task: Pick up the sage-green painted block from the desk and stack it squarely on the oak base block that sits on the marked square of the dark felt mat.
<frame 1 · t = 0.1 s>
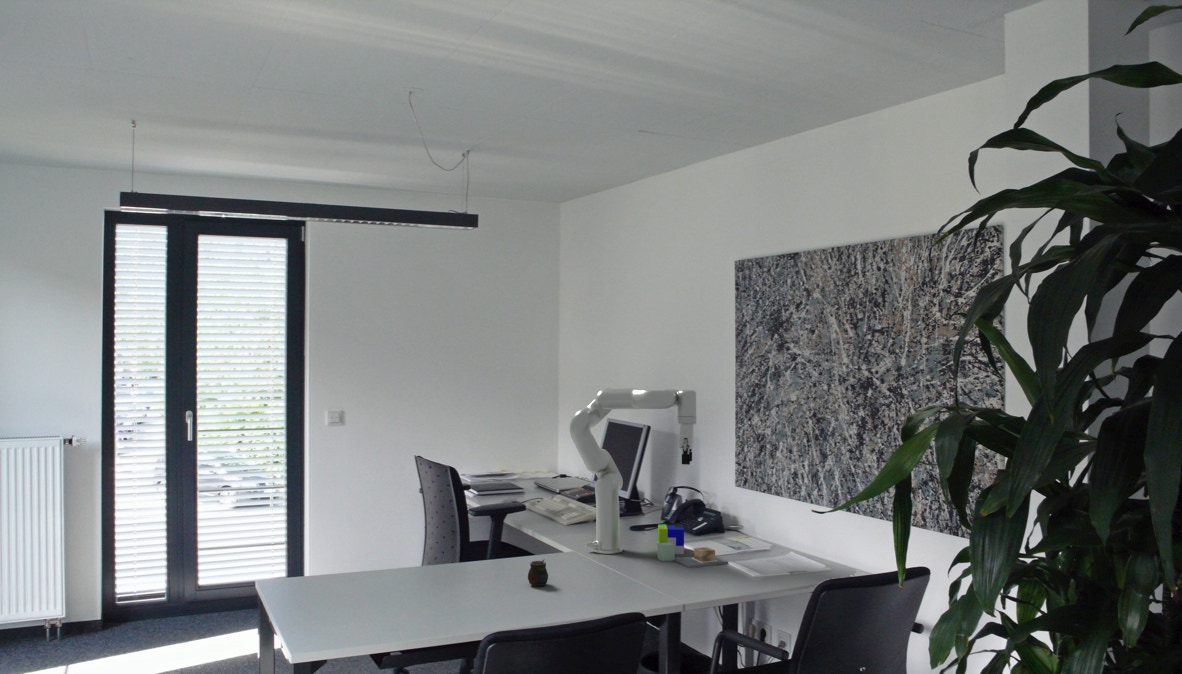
hand: (687, 462, 354), 37 cm above the table, tool pointing down, fingers open, 9 cm apart
puzzle toy: (670, 551, 360), on the table
felt mat: (701, 562, 342), on the table
mate gourd: (538, 585, 308), on the table
oak base block: (704, 559, 342), point 1 cm above the table, touching felt mat
sage block: (666, 559, 346), on the table
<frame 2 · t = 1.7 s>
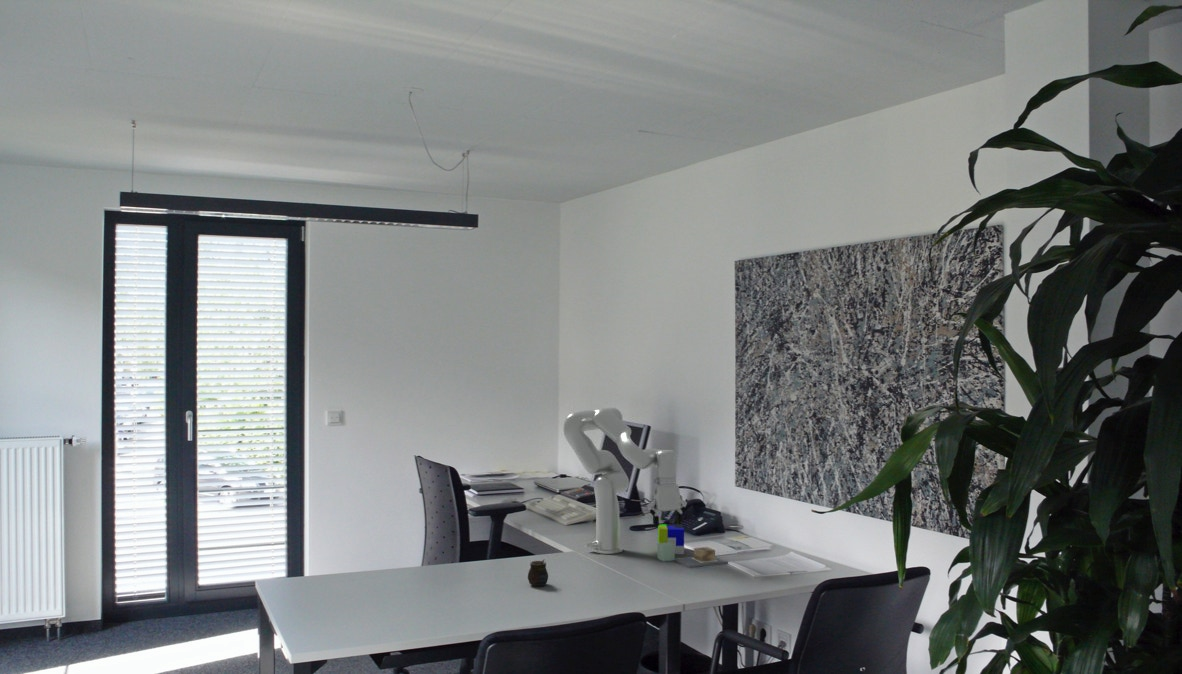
hand: (667, 524, 346), 14 cm above the table, tool pointing down, fingers open, 9 cm apart
nothing on the table moved.
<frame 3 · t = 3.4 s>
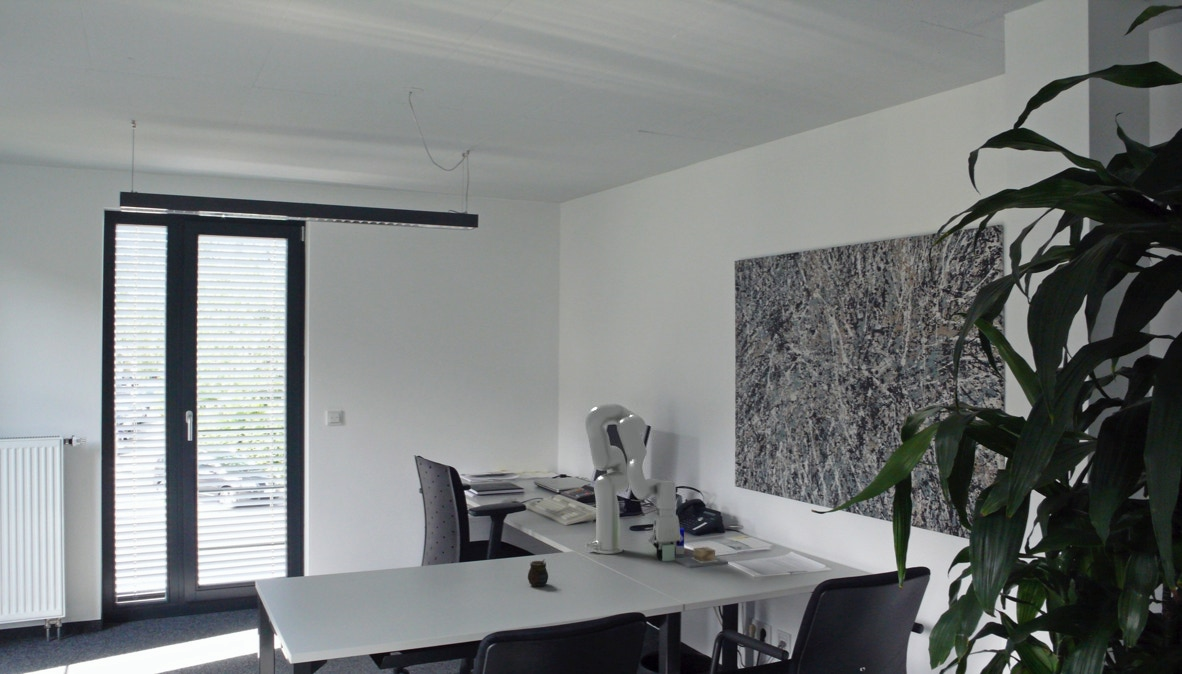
hand: (666, 557, 346), 0 cm above the table, tool pointing down, fingers closed on sage block, 5 cm apart
sage block: (666, 559, 346), on the table, touching gripper
everything else where it was.
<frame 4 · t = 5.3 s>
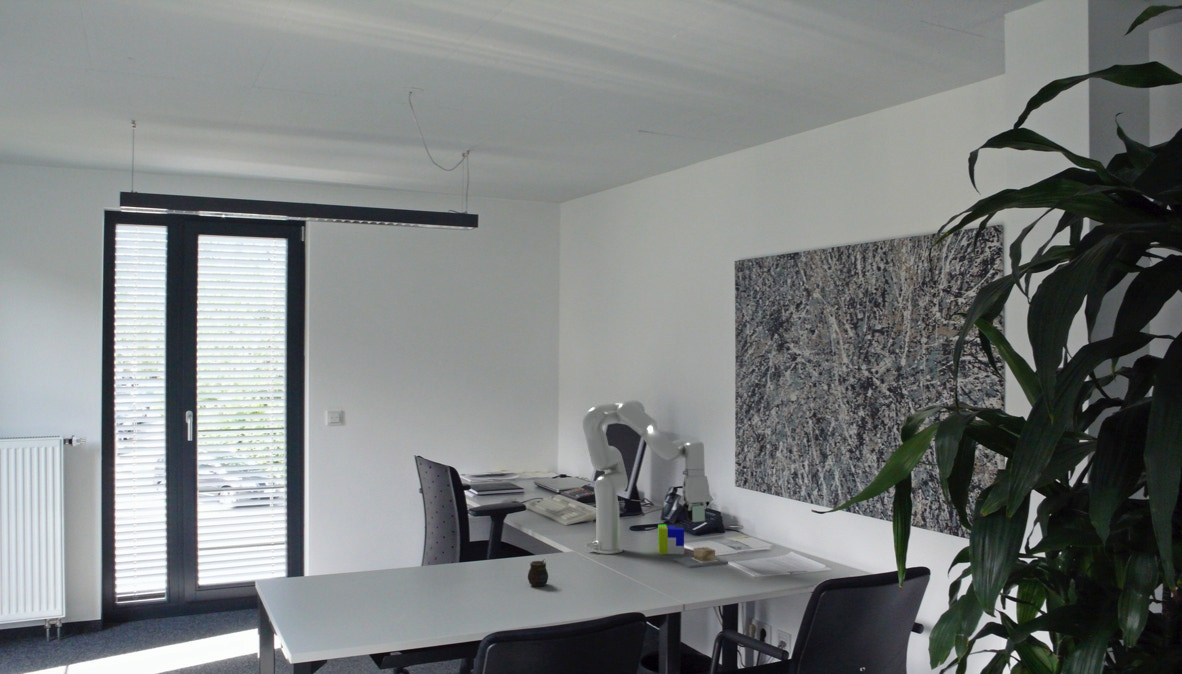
hand: (696, 519, 343), 16 cm above the table, tool pointing down, fingers closed on sage block, 5 cm apart
sage block: (696, 520, 343), point 16 cm above the table, touching gripper
everything else where it was.
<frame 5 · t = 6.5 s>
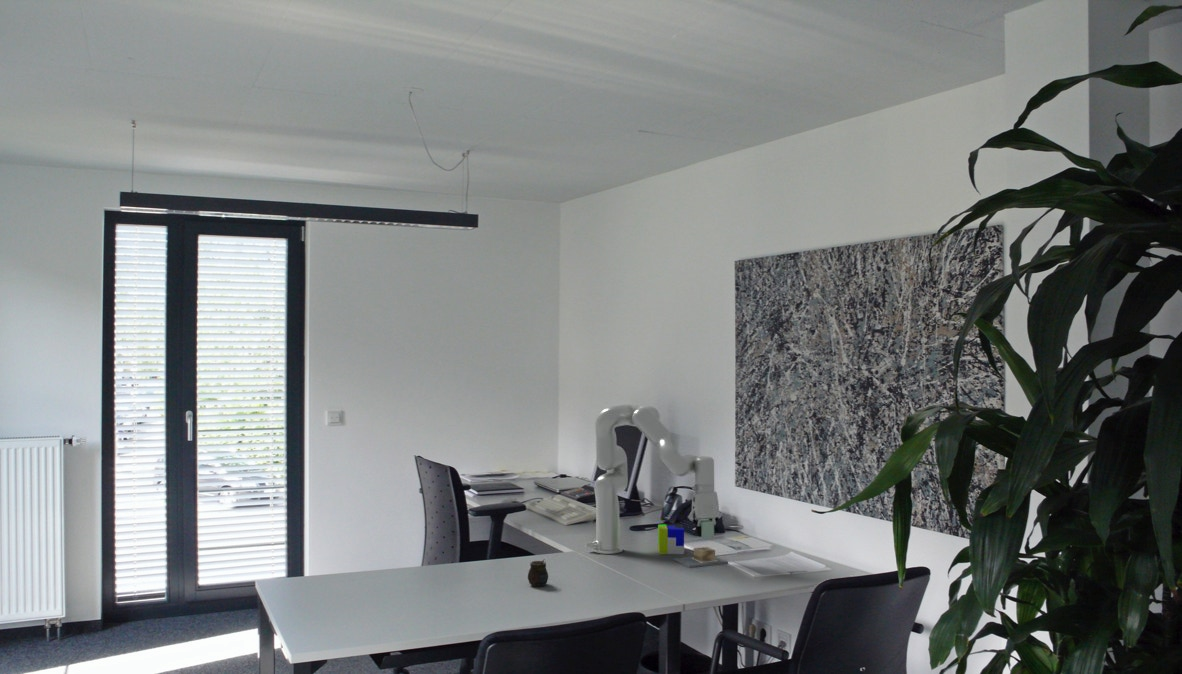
hand: (705, 534, 342), 11 cm above the table, tool pointing down, fingers closed on sage block, 5 cm apart
sage block: (705, 535, 342), point 10 cm above the table, touching gripper
everything else where it was.
when the fingers open (6 cm above the table, at t = 7.6 s): sage block stays where it is, resting on oak base block.
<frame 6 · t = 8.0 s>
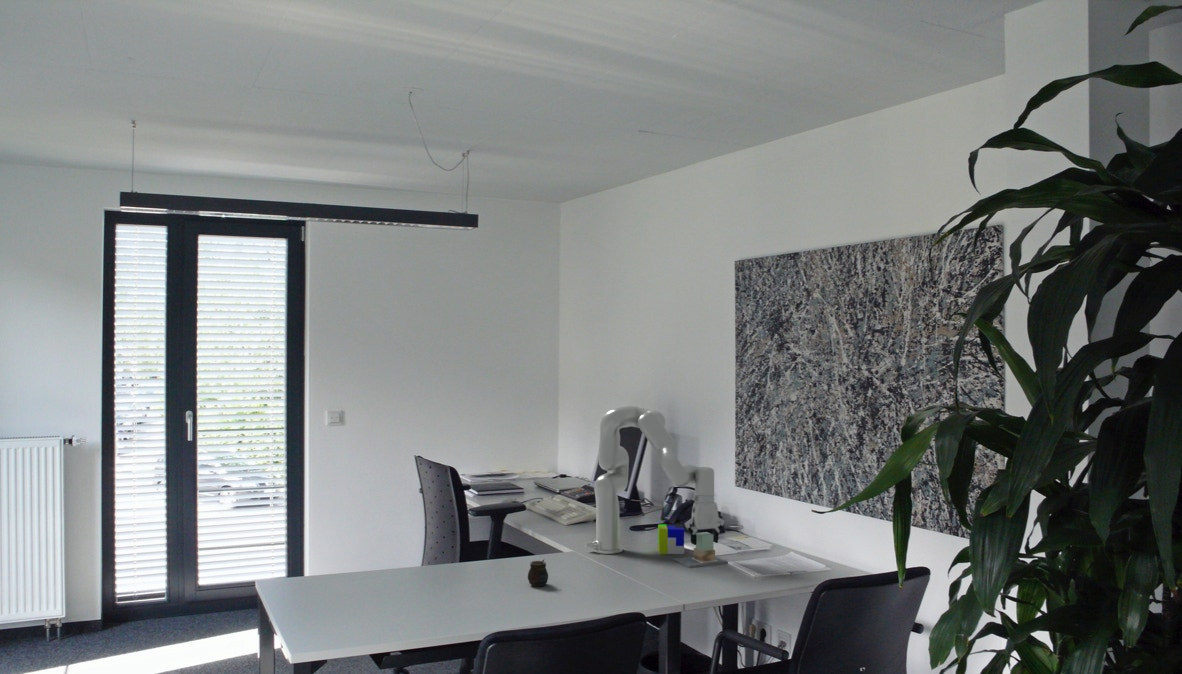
hand: (704, 543, 342), 7 cm above the table, tool pointing down, fingers open, 9 cm apart
oak base block: (704, 559, 342), point 1 cm above the table, touching felt mat, sage block
sage block: (704, 549, 342), point 5 cm above the table, touching oak base block
everything else where it was.
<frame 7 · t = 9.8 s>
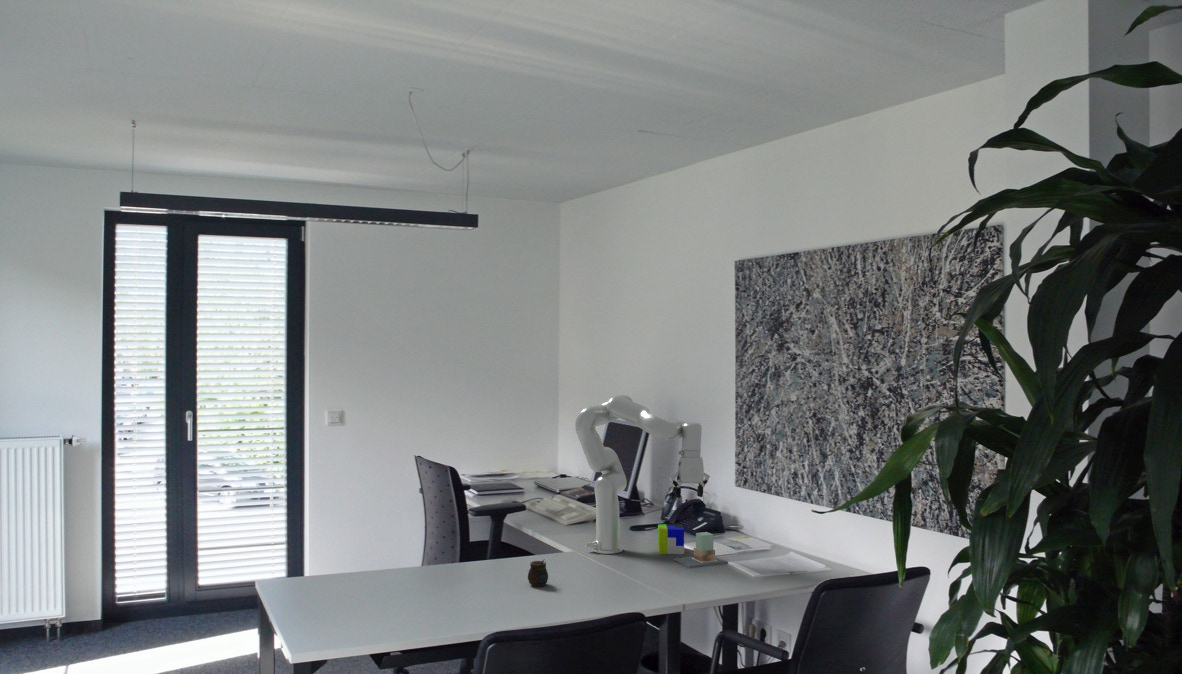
hand: (688, 496, 347), 25 cm above the table, tool pointing down, fingers open, 9 cm apart
nothing on the table moved.
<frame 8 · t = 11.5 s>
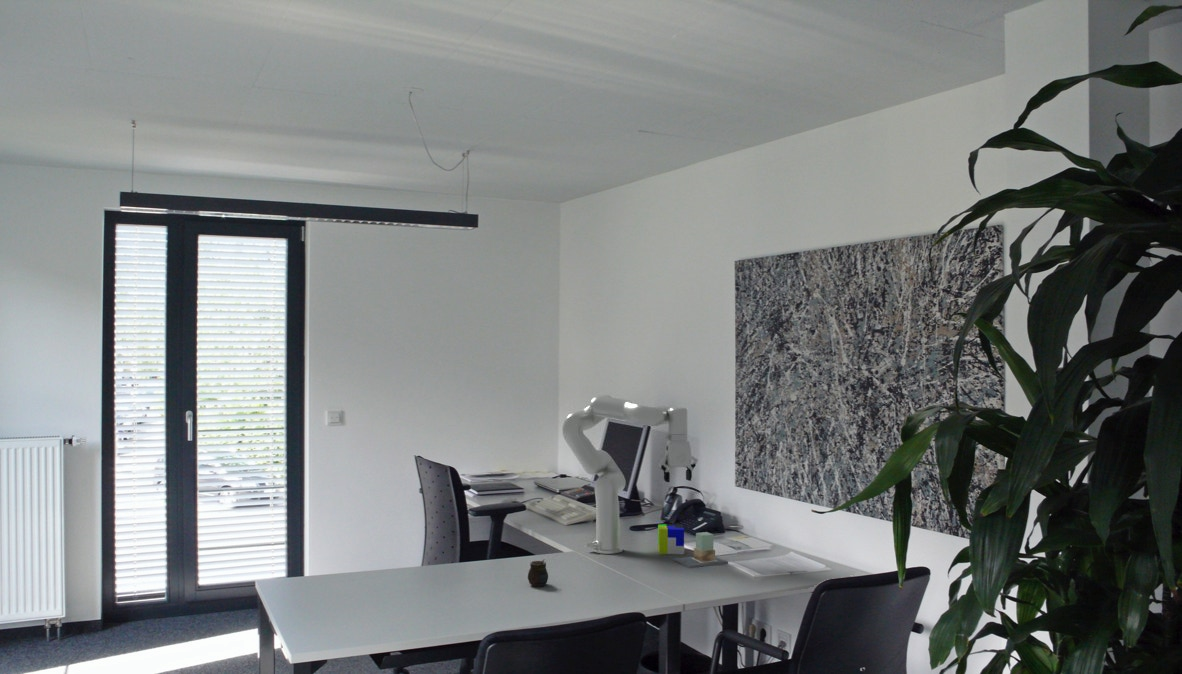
hand: (677, 480, 350), 30 cm above the table, tool pointing down, fingers open, 9 cm apart
nothing on the table moved.
at the end: sage block 0.0 cm off-centre on the oak base block, point 4.0 cm above the oak base block's base; sage block tilted 0°; the gripper is holding nothing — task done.
